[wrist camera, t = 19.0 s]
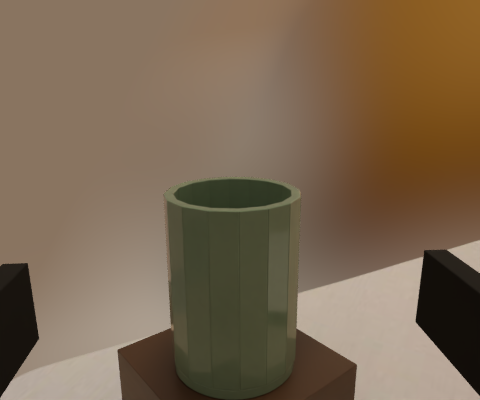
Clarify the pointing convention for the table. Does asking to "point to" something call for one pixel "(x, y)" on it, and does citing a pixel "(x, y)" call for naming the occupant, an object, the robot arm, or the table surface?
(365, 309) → the table surface
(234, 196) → the cup
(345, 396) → the block
